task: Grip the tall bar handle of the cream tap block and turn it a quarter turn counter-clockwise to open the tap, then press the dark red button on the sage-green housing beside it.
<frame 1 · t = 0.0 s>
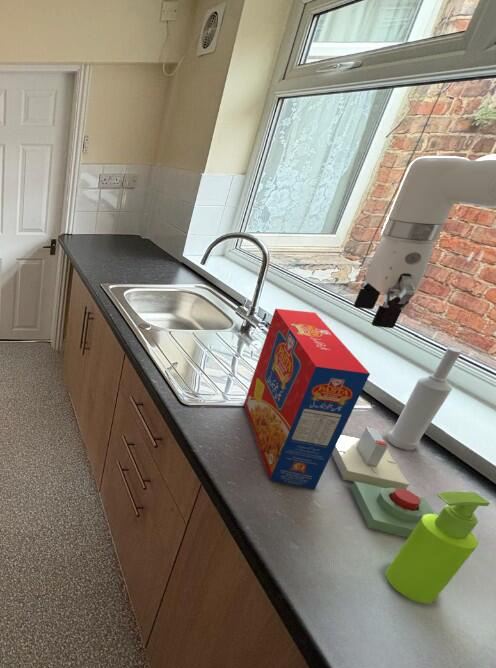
hand: (372, 316, 83), 32 cm above the worktop, tool pointing down, fingers open, 9 cm apart
button box: (394, 516, 79), on the worktop
tap block: (361, 465, 91), on the worktop
button: (405, 499, 77), point 4 cm above the worktop, slide at 0.1 cm
soap dispenser: (405, 585, 67), on the worktop
pasta box: (274, 442, 98), on the worktop
tap handle: (371, 446, 88), point 5 cm above the worktop, hinge at 0.0°
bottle: (400, 443, 97), on the worktop
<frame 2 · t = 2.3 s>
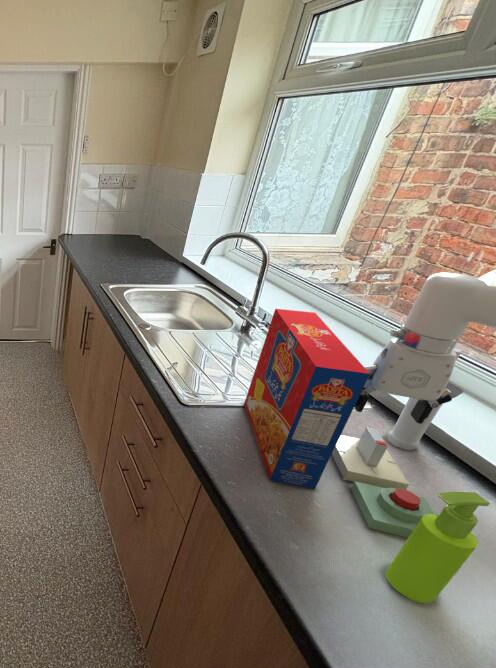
hand: (385, 413, 85), 14 cm above the worktop, tool pointing down, fingers open, 9 cm apart
nothing on the worktop moved.
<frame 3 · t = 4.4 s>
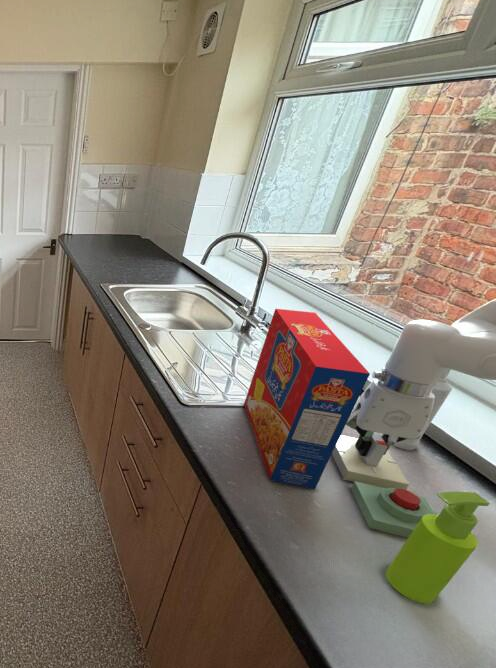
hand: (367, 453, 89), 3 cm above the worktop, tool pointing down, fingers closed on tap handle, 2 cm apart
tap handle: (371, 446, 88), point 5 cm above the worktop, hinge at 0.0°, touching gripper
everything else where it was.
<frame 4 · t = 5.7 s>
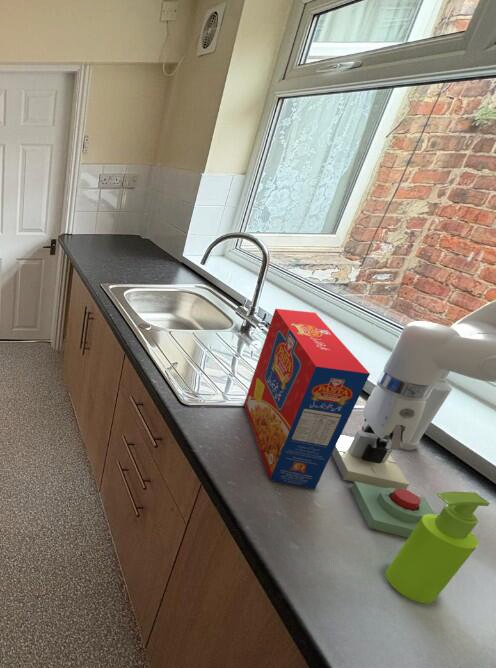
hand: (367, 454, 89), 3 cm above the worktop, tool pointing down, fingers open, 3 cm apart
tap handle: (371, 446, 88), point 5 cm above the worktop, hinge at 89.9°
everything else where it was.
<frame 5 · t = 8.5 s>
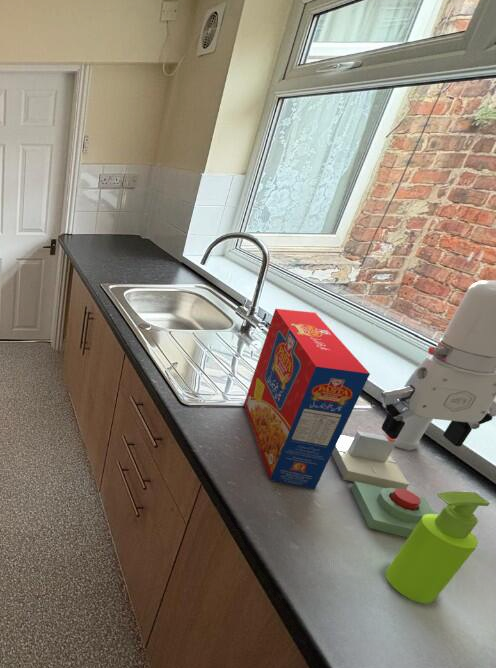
hand: (419, 437, 76), 16 cm above the worktop, tool pointing down, fingers open, 9 cm apart
nothing on the worktop moved.
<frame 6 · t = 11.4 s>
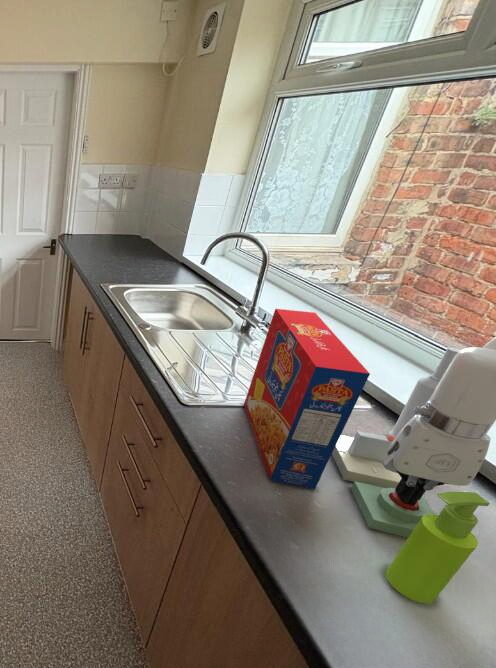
hand: (404, 498, 77), 5 cm above the worktop, tool pointing down, fingers closed
button: (403, 502, 77), point 4 cm above the worktop, slide at -0.6 cm, touching gripper
everything else where it was.
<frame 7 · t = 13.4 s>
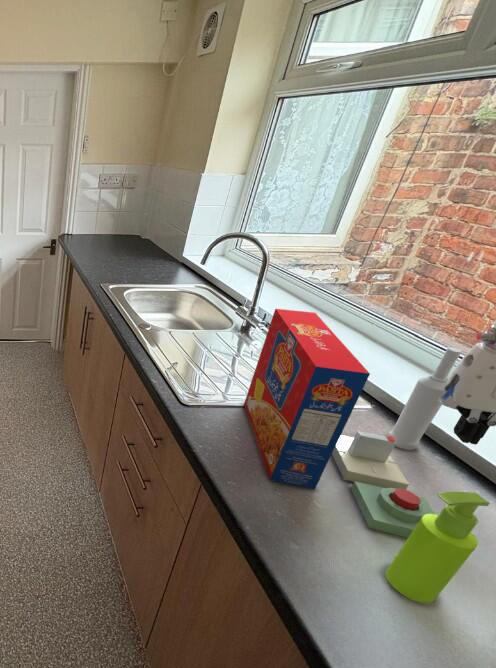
hand: (464, 438, 71), 19 cm above the worktop, tool pointing down, fingers closed
button: (405, 499, 77), point 4 cm above the worktop, slide at 0.1 cm
everything else where it was.
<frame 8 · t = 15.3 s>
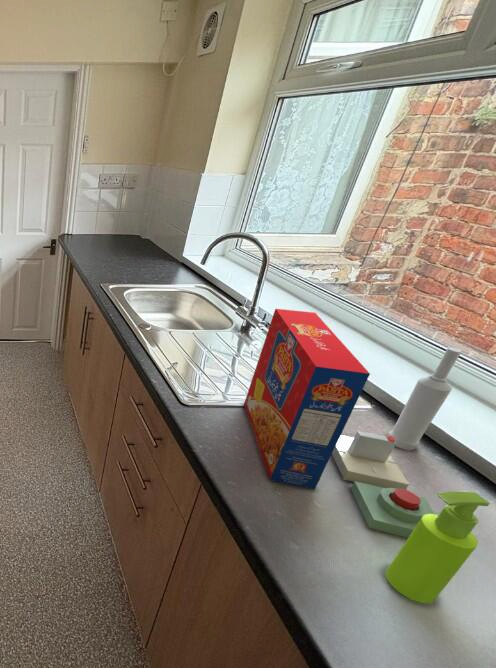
nothing on the worktop moved.
at the end: tap handle at +90° (first picture: +0°); button pushed in 1.1 cm at the most during the clip, back to where it started at the end; button slide at 0.1 cm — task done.
